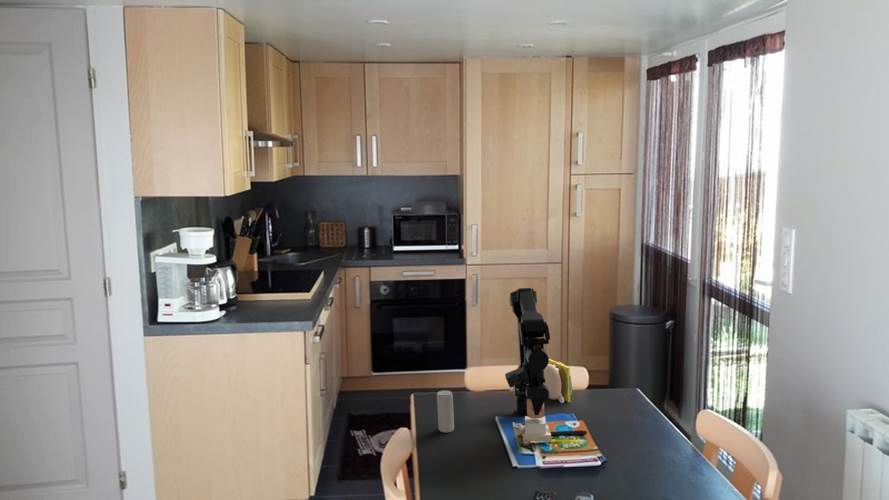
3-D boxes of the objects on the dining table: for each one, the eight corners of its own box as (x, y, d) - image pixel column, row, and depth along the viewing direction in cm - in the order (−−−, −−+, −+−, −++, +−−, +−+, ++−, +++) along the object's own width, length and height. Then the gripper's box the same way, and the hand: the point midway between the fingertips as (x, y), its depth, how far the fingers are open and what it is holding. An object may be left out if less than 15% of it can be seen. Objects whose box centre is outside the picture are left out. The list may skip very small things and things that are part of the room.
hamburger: (535, 395, 247) (534, 361, 245) (555, 390, 250) (555, 357, 249) (555, 405, 236) (554, 370, 234) (575, 400, 239) (574, 366, 238)
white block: (525, 426, 212) (525, 416, 212) (545, 426, 211) (545, 416, 211) (525, 433, 206) (524, 423, 206) (545, 433, 206) (545, 423, 205)
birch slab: (521, 435, 213) (521, 425, 213) (548, 434, 213) (548, 424, 212) (523, 445, 205) (523, 436, 205) (551, 445, 205) (551, 435, 204)
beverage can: (452, 433, 215) (450, 395, 214) (437, 432, 216) (435, 395, 215) (455, 427, 220) (453, 390, 219) (440, 427, 221) (438, 390, 220)
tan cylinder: (534, 411, 212) (534, 395, 211) (547, 414, 208) (547, 398, 207) (523, 415, 208) (523, 399, 208) (537, 419, 205) (536, 403, 204)
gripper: (504, 352, 216) (506, 402, 218) (508, 370, 197) (510, 424, 199) (541, 351, 215) (542, 400, 217) (548, 369, 197) (550, 423, 199)
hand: (535, 411), depth 208 cm, fingers closed on tan cylinder, 5 cm apart
